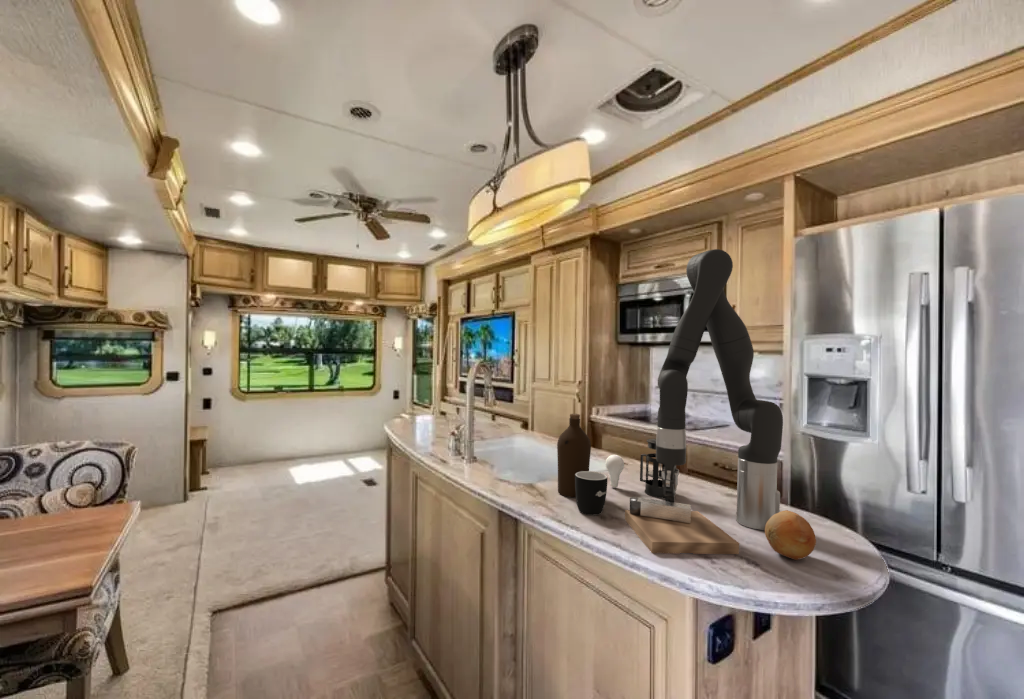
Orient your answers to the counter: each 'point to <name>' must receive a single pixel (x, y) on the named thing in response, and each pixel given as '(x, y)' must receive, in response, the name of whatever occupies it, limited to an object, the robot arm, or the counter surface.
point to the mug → (590, 492)
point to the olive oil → (572, 455)
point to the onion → (790, 535)
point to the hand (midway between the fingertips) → (669, 509)
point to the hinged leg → (660, 509)
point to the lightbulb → (614, 469)
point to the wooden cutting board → (682, 535)
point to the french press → (652, 473)
